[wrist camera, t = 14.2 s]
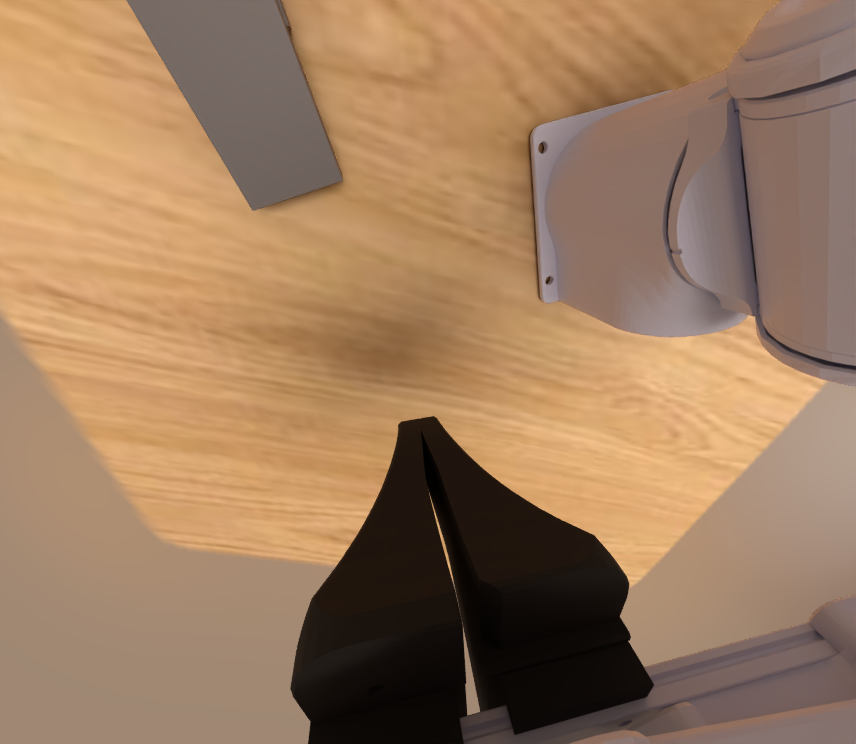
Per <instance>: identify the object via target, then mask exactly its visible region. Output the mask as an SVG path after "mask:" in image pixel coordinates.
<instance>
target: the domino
mask: <svg viewBox="0 0 856 744" xmlns="http://www.w3.org/2000/svg"><path fill="white" fill-rule="evenodd" d="M127 2H128V3H129V5H130V7H131V8H132V10H133V12H134V13H135V15H136V17H137V18H138V20H139V22H140V23H141V25H142V27H143V28H144V30H145V32H146V33H147V35H148V37H149V38H150V40H151V42H152V43H153V45H154V47H155V48H156V50H157V52H158V53H159V55H160V57H161V58H162V60H163V62H164V63H165V65H166V67H167V69H168V70H169V72H170V74H171V75H172V77H173V79H174V80H175V82H176V84H177V85H178V87H179V89H180V90H181V92H182V94H183V95H184V97H185V99H186V100H187V102H188V104H189V105H190V107H191V109H192V110H193V112H194V114H195V115H196V117H197V119H198V120H199V122H200V124H201V125H202V127H203V129H204V130H205V132H206V134H207V135H208V137H209V139H210V140H211V142H212V144H213V145H214V147H215V149H216V150H217V152H218V154H219V155H220V157H221V159H222V160H223V162H224V164H225V165H226V167H227V169H228V170H229V172H230V174H231V175H232V177H233V179H234V180H235V182H236V184H237V185H238V187H239V189H240V190H241V192H242V194H243V195H244V197H245V199H246V200H247V202H248V204H249V205H250V207H251V209H252V210H253V211H254V210H257V209H260V208H263V207H266V206H269V205H272V204H275V203H278V202H281V201H284V200H287V199H290V198H293V197H296V196H299V195H302V194H304V193H307V192H310V191H313V190H316V189H319V188H322V187H325V186H328V185H331V184H334V183H337V182H340V181H343V179H342V174H341V170H340V168H339V165H338V162H337V160H336V157H335V154H334V152H333V149H332V146H331V144H330V141H329V138H328V136H327V133H326V130H325V128H324V125H323V122H322V119H321V117H320V114H319V111H318V109H317V106H316V103H315V101H314V98H313V95H312V93H311V90H310V87H309V85H308V82H307V79H306V77H305V74H304V71H303V69H302V66H301V63H300V61H299V58H298V55H297V52H296V50H295V47H294V44H293V42H292V39H291V36H290V34H289V31H288V28H287V26H286V23H285V20H284V18H283V15H282V12H281V10H280V7H279V4H278V2H277V0H127Z"/></svg>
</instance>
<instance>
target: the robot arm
mask: <svg viewBox="0 0 856 744" xmlns="http://www.w3.org/2000/svg"><path fill="white" fill-rule="evenodd" d="M540 143H542V144H543V145H544V151H543V153H542V154H541V153H540V152H539V150H538V146H539V144H540ZM530 145H531V161H532V176H533V192H534V208H535V223H536V239H537V255H538V271H539V286H540V298H541V300H542V301H543V302H545V303H553V302H556V301H561V302H563V303H565V304H567V305H569V306H572V307H574V308H576V309H578V310H580V311H582V312H584V313H586V314H588V315H590V316H592V317H595V318H597V319H599V320H601V321H603V322H605V323H607V324H609V325H611V326H613V327H615V328H618V329H621V330H624V331H627V332H631V333H636V334H642V335H649V336H658V337H686V336H696V335H703V334H709V333H714V332H718V331H722V330H725V329H728V328H731V327H733V326H736V325H738V324H739V323H741V322H742V321H743V320H745V319H746V317H747V316H748V315H750V316H756V317H755V321H756V329H757V336H758V338H759V340H760V342H761V344H762V345H763V347H764V348H765V349H766V350H767V351H768V352H769V353H770V354H771V355H772V356H773V357H775V358H776V359H778V360H779V361H780V362H782V363H783V364H785V365H787V366H789V367H791V368H793V369H796V370H798V371H800V372H802V373H805V374H808V375H811V376H814V377H817V378H820V379H823V380H827V381H832V382H836V383H840V384H844V385H849V386H856V0H780V1H779V2H778V3H777V4H776V5H775V6H773V7H772V8H771V9H770V10H769V11H768V12H767V13H766V14H765V15H764V16H763V17H762V19H761V20H760V21H759V22H758V24H757V25H756V27H755V28H754V30H753V31H752V33H751V34H750V36H749V37H748V39H747V40H746V42H745V44H744V45H743V46H742V47H741V48H740V49H739V50H738V52H737V53H736V54H735V55H734V56H733V58H732V59H731V61H730V63H729V65H728V66H727V69H726V70H724V71H721V72H719V73H716V74H714V75H711V76H708V77H706V78H703V79H701V80H698V81H696V82H693V83H691V84H688V85H686V86H683V87H680V88H678V89H675V90H668V91H664V92H661V93H657V94H653V95H649V96H646V97H642V98H638V99H634V100H631V101H627V102H623V103H619V104H616V105H612V106H608V107H604V108H601V109H597V110H593V111H589V112H586V113H582V114H578V115H574V116H571V117H567V118H563V119H559V120H556V121H552V122H548V123H544V124H541V125H539V126H537V127H535V128H534V129H533V131H532V133H531V136H530ZM549 276H550V281H549V282H548V283H546V282H545V281H546V278H547V277H549ZM428 489H429V490H428ZM429 493H430V495H429ZM430 496H431V499H432V503H433V506H434V509H435V512H436V516H437V519H438V522H439V525H440V529H441V532H442V535H443V538H444V541H445V545H446V549H447V553H448V557H449V561H450V566H451V571H452V575H453V580H454V584H455V589H456V593H455V589H454V586H453V582H452V578H451V575H450V571H449V568H448V564H447V561H446V557H445V553H444V550H443V546H442V542H441V538H440V534H439V531H438V527H437V523H436V519H435V515H434V511H433V507H432V503H431V499H430ZM628 589H629V581H628V579H627V576H626V575H625V573H624V572H623V570H622V569H621V568H620V566H619V565H618V563H617V562H616V561H615V559H614V558H613V557H612V556H611V554H610V553H609V552H608V551H607V549H606V548H605V547H604V546H603V545H602V544H601V543H600V541H599V540H598V539H597V538H596V537H595V536H594V535H592V534H590V533H588V532H586V531H584V530H582V529H580V528H577V527H575V526H573V525H571V524H569V523H567V522H565V521H562V520H560V519H558V518H556V517H554V516H553V515H551V514H549V513H547V512H545V511H543V510H542V509H540V508H538V507H536V506H535V505H533V504H532V503H530V502H528V501H527V500H525V499H524V498H522V497H520V496H519V495H517V494H516V493H514V492H513V491H511V490H510V489H509V488H507V487H506V486H504V485H503V484H502V483H500V482H499V481H498V480H496V479H495V478H494V477H492V476H491V475H490V474H489V473H488V472H486V471H485V470H484V469H483V468H482V467H481V466H479V465H478V464H477V463H476V462H475V461H474V460H473V459H472V458H471V457H470V456H469V455H468V454H467V453H466V452H465V451H464V450H463V449H462V448H461V447H460V446H459V445H458V444H457V443H456V442H455V441H454V440H453V438H452V437H451V436H450V435H449V434H448V433H447V431H446V430H445V429H444V428H443V426H442V425H441V424H440V422H439V421H438V419H437V418H436V417H434V416H432V417H426V418H421V419H415V420H409V421H403V422H400V424H399V425H398V437H397V442H396V447H395V451H394V454H393V458H392V461H391V464H390V467H389V470H388V473H387V475H386V478H385V481H384V483H383V486H382V488H381V491H380V493H379V495H378V497H377V499H376V501H375V503H374V506H373V508H372V509H371V511H370V513H369V515H368V517H367V519H366V521H365V522H364V524H363V526H362V528H361V529H360V531H359V533H358V534H357V536H356V538H355V539H354V541H353V542H352V544H351V545H350V547H349V548H348V550H347V551H346V553H345V554H344V556H343V557H342V559H341V560H340V562H339V563H338V565H337V566H336V567H335V569H334V570H333V571H332V573H331V574H330V575H329V577H328V578H327V579H326V581H325V582H324V583H323V585H322V586H321V587H320V589H319V590H318V591H317V593H316V594H315V595H314V596H313V598H312V600H311V602H310V605H309V608H308V611H307V614H306V617H305V620H304V623H303V627H302V630H301V634H300V638H299V642H298V646H297V650H296V656H295V663H294V669H293V675H292V682H291V691H292V694H293V697H294V699H295V700H296V701H297V703H298V704H299V706H300V707H301V709H302V710H303V712H304V713H305V714H306V716H307V717H308V719H309V720H310V721H311V723H310V732H309V741H308V744H856V594H853V595H850V596H846V597H843V598H839V599H835V600H832V601H829V602H827V603H825V604H823V605H822V606H820V607H819V608H818V609H816V610H815V611H814V612H813V613H812V615H811V616H810V617H809V622H806V623H803V624H799V625H795V626H792V627H789V628H785V629H781V630H777V631H773V632H770V633H767V634H763V635H759V636H755V637H752V638H748V639H745V640H741V641H738V642H734V643H730V644H726V645H723V646H719V647H716V648H712V649H708V650H704V651H701V652H697V653H694V654H690V655H686V656H683V657H679V658H675V659H672V660H668V661H664V662H661V663H657V664H653V665H650V666H646V667H643V665H642V663H641V662H640V660H639V658H638V657H637V655H636V653H635V652H634V650H633V648H632V647H631V645H630V643H629V642H628V641H629V640H630V638H631V636H630V633H629V631H628V630H627V628H626V626H625V625H624V623H623V621H622V620H621V618H620V614H621V612H622V609H623V606H624V604H625V601H626V599H627V595H628ZM456 594H457V597H456ZM457 599H458V601H457ZM458 604H459V606H458ZM459 608H460V610H459ZM460 613H461V615H460ZM461 618H462V619H461ZM462 623H463V625H462ZM463 628H464V633H465V637H466V642H467V647H468V652H469V657H470V662H471V667H472V672H473V677H474V682H475V687H476V692H477V697H478V702H479V707H480V712H479V713H476V714H472V715H468V716H467V706H466V705H467V704H466V691H465V684H466V672H465V658H464V641H463Z"/></svg>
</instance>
